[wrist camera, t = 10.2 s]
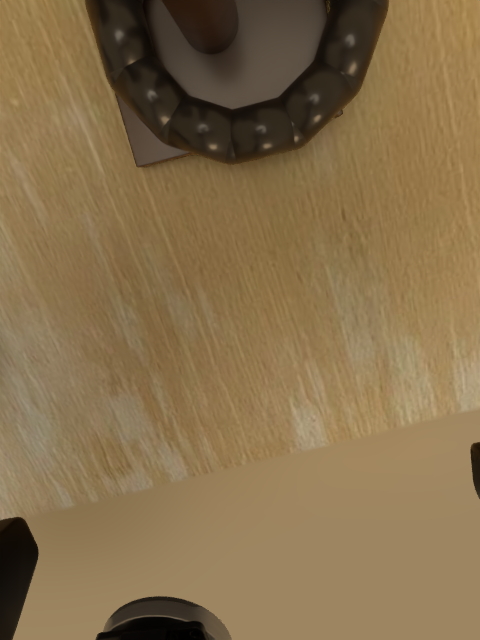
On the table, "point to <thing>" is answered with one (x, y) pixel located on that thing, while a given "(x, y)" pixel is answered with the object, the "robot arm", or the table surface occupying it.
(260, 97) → the rack
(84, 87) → the table surface
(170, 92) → the studded brown bangle
